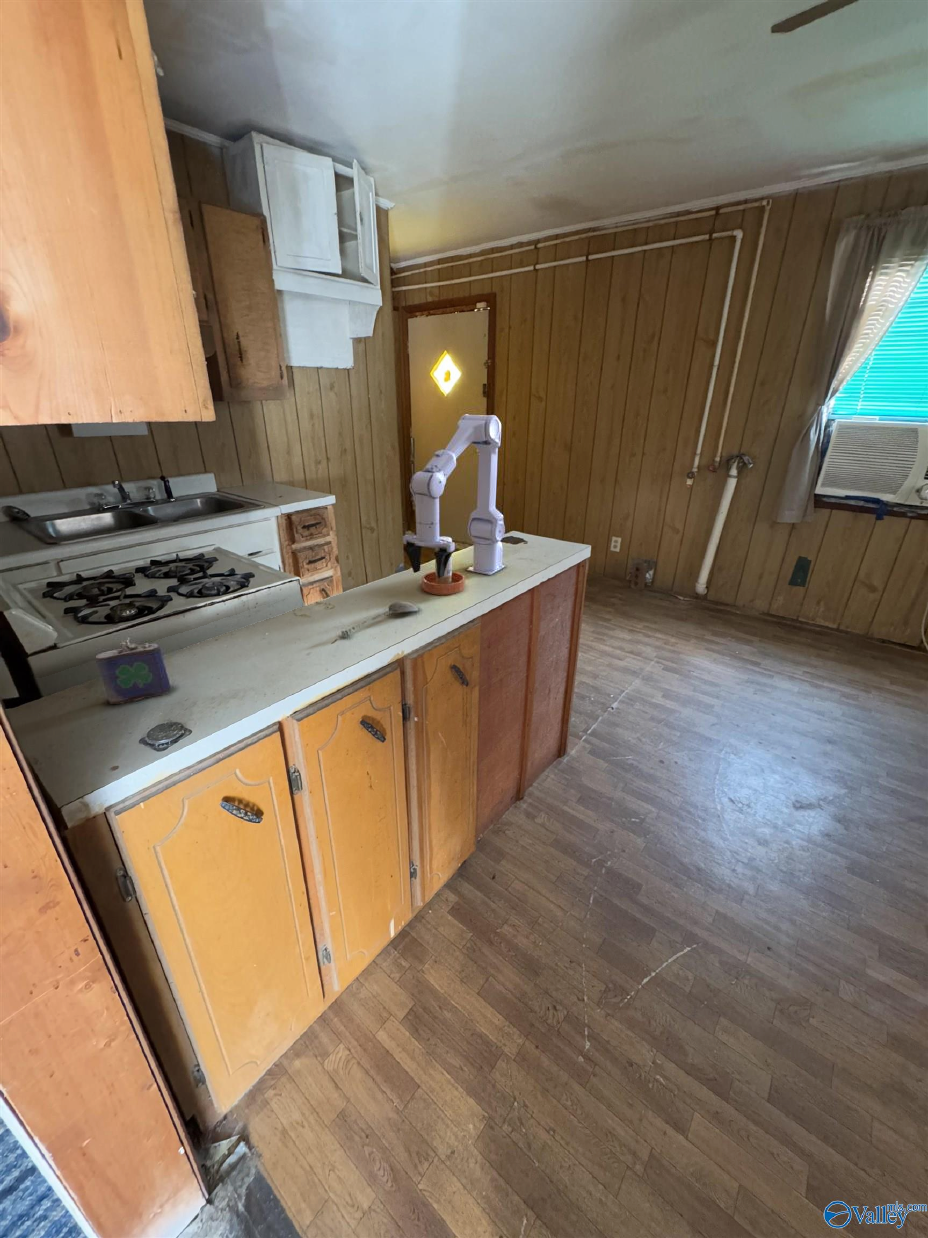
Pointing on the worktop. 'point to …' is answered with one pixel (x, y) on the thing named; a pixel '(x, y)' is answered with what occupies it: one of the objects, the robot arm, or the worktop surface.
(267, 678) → the worktop surface
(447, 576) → the sprinkles bottle
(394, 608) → the soupspoon
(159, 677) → the flask
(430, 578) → the terracotta plant saucer
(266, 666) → the worktop surface
